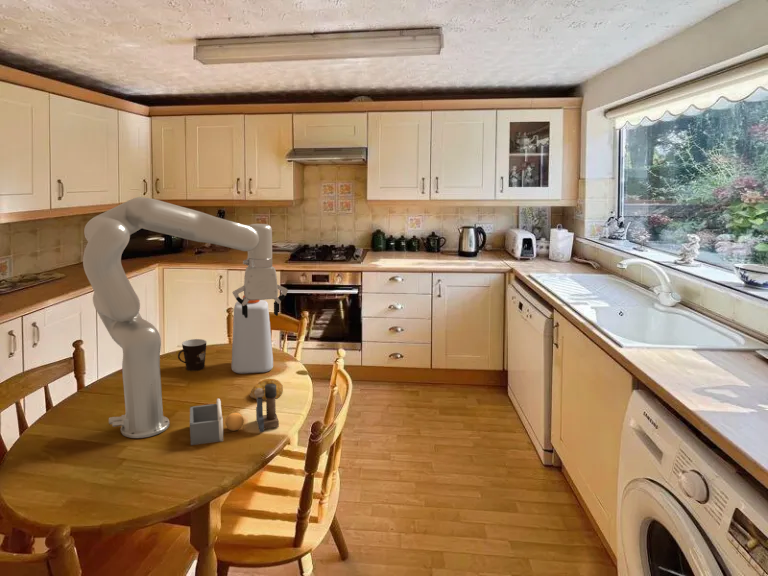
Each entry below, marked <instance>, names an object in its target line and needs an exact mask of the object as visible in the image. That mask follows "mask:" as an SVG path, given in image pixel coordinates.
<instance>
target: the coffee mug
mask: <svg viewBox="0 0 768 576" xmlns="http://www.w3.org/2000/svg"><path fill="white" fill-rule="evenodd" d="M181 345H182V349H181V350H180V351H179V352H178V354H177V359H178V360H179V361H180V362H181V363H183V364H185V369H186V370H187V371H189V372H197V371H201V370H204V369H205V367H206V354H207V353H206V351H207V340H205V339H199V338H198V339H197V338H196V339H195V338H194V339H193V338H192V339H186V340H183V342H182V343H181ZM182 353H183V357H184V360H182V359H181V357H180V356H181V354H182Z"/></svg>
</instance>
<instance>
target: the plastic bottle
mask: <svg viewBox="0 0 768 576" xmlns="http://www.w3.org/2000/svg"><path fill="white" fill-rule="evenodd" d="M244 297H245V296H244V295H243V296H242V299H243V298H244ZM267 301H268V300H266V299H265V300H249V301H248V302H247V304H246V305H247V307H248V317H247V318H245V317H244V315H242V304H240V303H239V302H238V301H237V300H236V302H235V304H234V307H233V322H232V323H233V326H232V347H231V370H232V372H234V373H236V374H258V373H259V374H260V373H262V374H263V373H268V372H270V371H271V370H272V369H273V367H274V355H273V344H272V333H271V332H272V331H271V321H270V314H269V313H270V312H269V310H270V309H269V302H267Z"/></svg>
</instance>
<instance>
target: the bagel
mask: <svg viewBox="0 0 768 576" xmlns="http://www.w3.org/2000/svg"><path fill="white" fill-rule="evenodd" d="M267 384H275V385H276V397H275V400H277V399H278V398H280V397H281V396H282V394H283V392H284V387H283V384H282V383H281V381H280V380H277V379H276V378H264V379H262V380H260V381H259V382H258V383H257V384H256V385H255V386H253V387H252V388H251V390H250V392H249V396H250V398H251V399H254V400H257V397H256V396H255V394H254V392H255V390H256V389H257V388H262V389H263V390H264V396H263V397H262V401H265V400H266V397H265V385H267ZM276 398H277V399H276Z"/></svg>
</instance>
